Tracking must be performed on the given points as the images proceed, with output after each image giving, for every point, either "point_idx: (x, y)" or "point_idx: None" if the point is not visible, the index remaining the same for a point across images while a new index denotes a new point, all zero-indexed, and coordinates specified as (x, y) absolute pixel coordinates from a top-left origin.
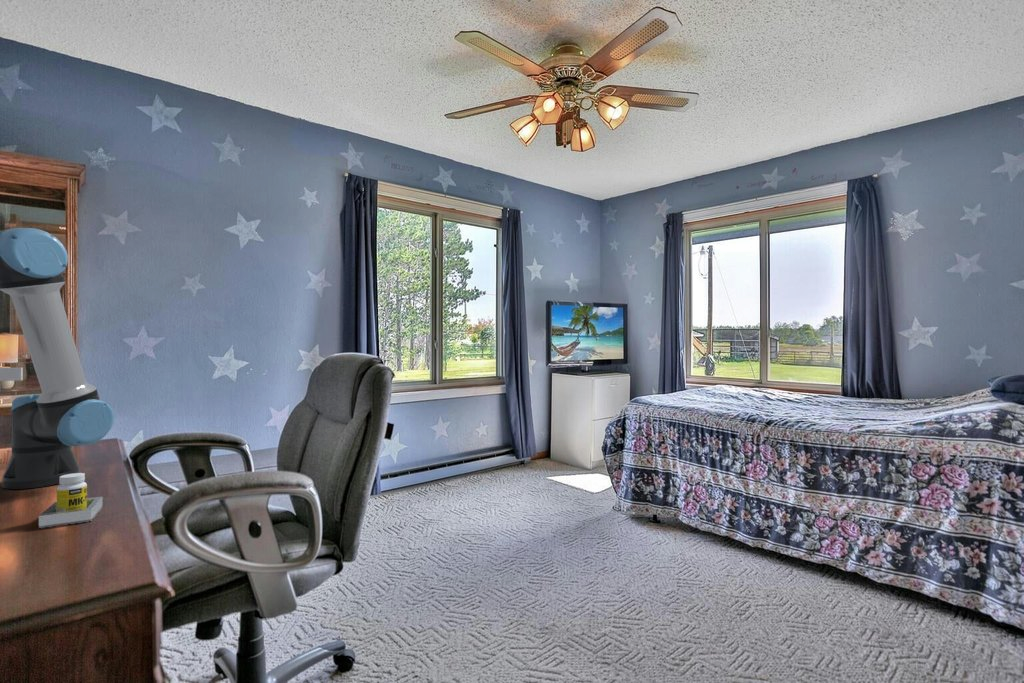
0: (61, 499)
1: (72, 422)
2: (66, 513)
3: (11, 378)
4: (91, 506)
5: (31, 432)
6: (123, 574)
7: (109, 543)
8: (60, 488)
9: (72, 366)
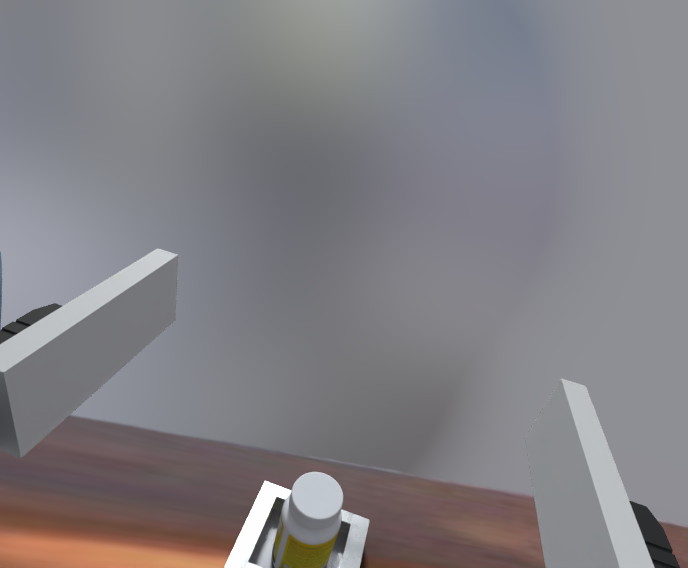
0: (327, 551)
1: None
2: (359, 563)
3: (148, 332)
4: (343, 514)
5: None
6: (677, 554)
7: (525, 539)
8: (330, 536)
9: None
